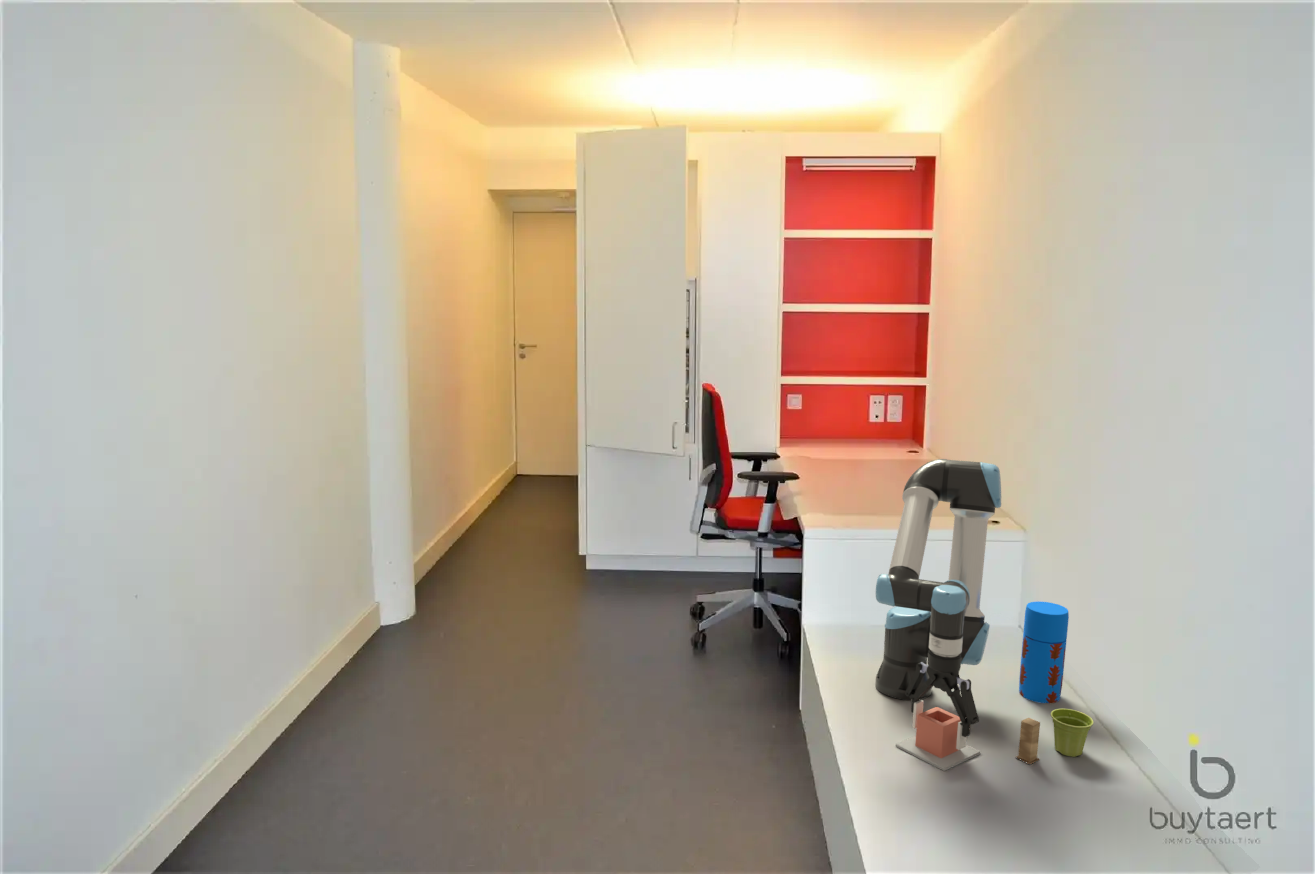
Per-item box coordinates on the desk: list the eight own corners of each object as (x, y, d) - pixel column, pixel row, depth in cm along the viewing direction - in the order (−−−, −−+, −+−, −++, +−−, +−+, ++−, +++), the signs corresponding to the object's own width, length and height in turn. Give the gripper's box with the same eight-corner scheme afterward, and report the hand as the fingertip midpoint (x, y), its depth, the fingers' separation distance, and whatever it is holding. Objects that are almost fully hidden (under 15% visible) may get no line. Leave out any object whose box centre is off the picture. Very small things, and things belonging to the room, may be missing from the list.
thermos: (1011, 686, 258) (1018, 601, 254) (1048, 686, 259) (1056, 600, 255) (1030, 704, 248) (1038, 615, 244) (1068, 703, 248) (1076, 614, 244)
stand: (1015, 757, 219) (1018, 720, 217) (1024, 753, 221) (1027, 716, 220) (1030, 764, 216) (1033, 726, 214) (1039, 760, 218) (1042, 722, 217)
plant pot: (1087, 745, 226) (1091, 712, 224) (1092, 763, 217) (1095, 729, 215) (1046, 738, 229) (1049, 705, 227) (1048, 756, 220) (1052, 722, 218)
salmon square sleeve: (915, 745, 223) (917, 714, 221) (934, 737, 227) (936, 706, 226) (941, 758, 217) (943, 726, 215) (960, 749, 221) (962, 718, 220)
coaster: (895, 746, 223) (895, 743, 223) (931, 730, 232) (931, 728, 232) (944, 770, 212) (944, 768, 212) (980, 753, 221) (980, 751, 220)
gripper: (893, 638, 225) (888, 721, 229) (980, 672, 206) (972, 762, 210) (913, 632, 230) (907, 713, 233) (999, 664, 211) (992, 753, 214)
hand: (938, 736), depth 221 cm, fingers open, 12 cm apart
